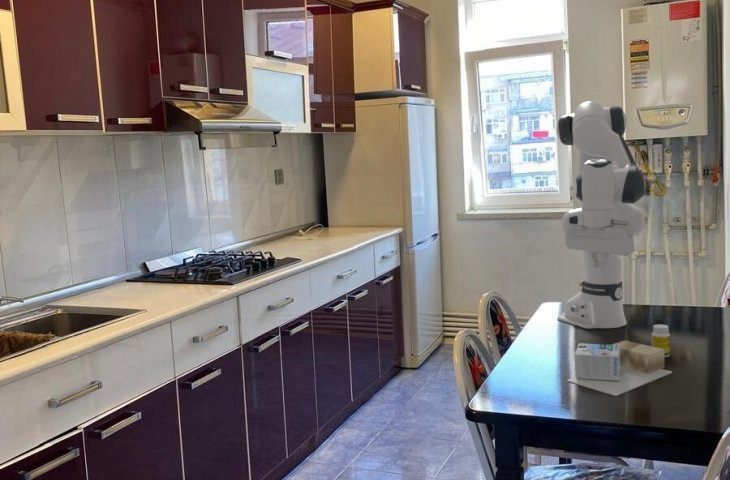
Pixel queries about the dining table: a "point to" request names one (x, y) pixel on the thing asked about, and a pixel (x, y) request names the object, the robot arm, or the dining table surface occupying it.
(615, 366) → the light bulb box
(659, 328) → the supplement bottle
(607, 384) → the mat
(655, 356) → the beech block
